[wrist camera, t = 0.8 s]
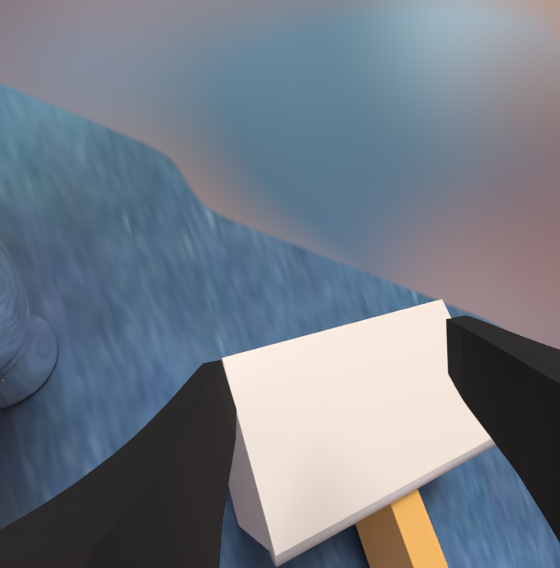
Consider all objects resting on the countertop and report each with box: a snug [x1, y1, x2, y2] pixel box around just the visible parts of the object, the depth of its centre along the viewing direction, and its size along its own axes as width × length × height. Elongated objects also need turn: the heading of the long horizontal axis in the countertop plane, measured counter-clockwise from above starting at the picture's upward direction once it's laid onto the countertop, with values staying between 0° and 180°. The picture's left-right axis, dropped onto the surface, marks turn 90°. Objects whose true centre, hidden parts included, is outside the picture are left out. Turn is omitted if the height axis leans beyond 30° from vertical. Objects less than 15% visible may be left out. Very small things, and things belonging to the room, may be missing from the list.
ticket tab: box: [355, 489, 448, 568], centre depth 22 cm, size 14×2×5 cm, turn 19°
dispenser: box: [221, 300, 496, 567], centre depth 23 cm, size 10×16×7 cm, turn 109°
